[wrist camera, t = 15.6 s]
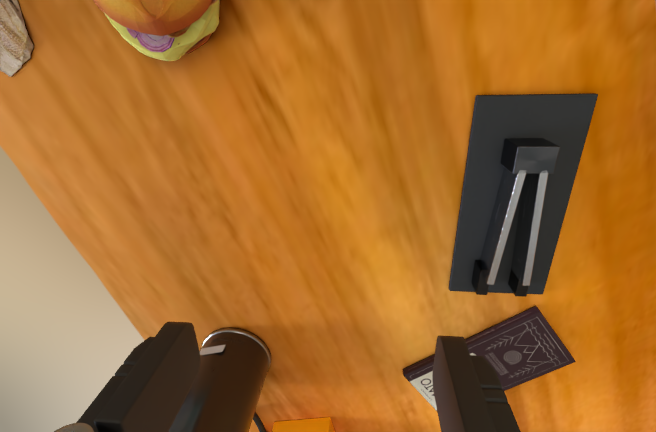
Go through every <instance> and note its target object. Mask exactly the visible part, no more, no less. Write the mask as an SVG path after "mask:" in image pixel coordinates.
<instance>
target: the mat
mask: <svg viewBox="0 0 656 432" xmlns="http://www.w3.org/2000/svg"><path fill="white" fill-rule="evenodd" d="M597 96H598V94H527V95H476V98H475V105H474V112H473V119H472V127H471V134H470V141H469V148H468V155H467V162H466V169H465V176H464V183H463V190H462V197H461V205H460V212H459V219H458V226H457V233H456V240H455V247H454V254H453V261H452V268H451V275H450V283H449V290H450V291H468V292H475V290H474V287H473V285H472V283H471V281H472V275H473V269H474V263H475V260H480V257H481V253H482V250H483V246H484V242H485V238H486V234H487V231H488V227H489V223H490V219H491V215H492V211H493V208H494V204H495V200H496V196H497V192H498V189H499V185H500V181H501V177H502V173H503V170H504V166H503V165H502V164H501V163H500V162H501V157H502V151H503V146H504V140H505V138H544V139H546V140H548V141H550V142H552V143H554V144H556V145H558V146H560V150H559V154H558V158H557V162H556V166H555V170H554V174H548V178H547V184H546V190H545V196H544V202H543V208H542V214H541V221H540V227H539V233H538V239H537V245H536V251H535V257H534V263H533V269H532V275H531V281H530V286H529V287H528V291H527V294H543V292H544V288H545V284H546V281H547V277H548V274H549V270H550V266H551V263H552V259H553V256H554V252H555V248H556V245H557V241H558V237H559V234H560V230H561V227H562V223H563V219H564V216H565V212H566V208H567V205H568V201H569V198H570V194H571V190H572V187H573V183H574V180H575V176H576V172H577V169H578V165H579V161H580V158H581V154H582V151H583V147H584V143H585V140H586V136H587V132H588V129H589V125H590V122H591V118H592V114H593V111H594V107H595V104H596V100H597ZM521 192H522V190H521ZM520 199H521V193H520V196H519V200H518V203H517V207H516V210H515V214H514V217H513V220H512V224H511V227H510V231H509V234H508V238H507V241H506V244H505V248H504V251H503V255H502V258H501V262H500V265H499V268H498V272H497V275H496V279H495V282H494V285H490V284H489V287H488V292H495V293H513V291H512V290H511V288H510V286H509V285H508V281H509V277H510V272H511V265H512V258H513V251H514V243H515V236H516V229H517V221H518V214H519V206H520Z"/></svg>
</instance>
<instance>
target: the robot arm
mask: <svg viewBox="0 0 656 432" xmlns="http://www.w3.org/2000/svg"><path fill="white" fill-rule="evenodd" d="M270 364H271V355H270V352H269V349H268V348H267V346H266V345H265V343H264V342H263V341H262V340H261V339H260V338H258V337H257V336H256V335H254V334H252V333H250V332H248V331H245V330H242V329H237V328H223V329H219V330H216V331H214V332H212V333H211V334H209V335H208V336H207V338H206V339H205V341H204V343H203V345H202V347H201V350H200V351H199V348H198V343H197V339H196V335H195V331H194V327H193V325H192V323H186V322H167V323H165V324H164V326H163V327H162V328H161V330H160V331H159V332H158V334H157V335H156V336H155V337H149V338H148V339H146V340H145V341H144V342H142V343H141V344H140V345H138V346H137V347H136V348H134V350H133V351H132V352H131V354H130V355H129V356H128V357H127V359H126V360H125V361H124V364H123V365H121V366H120V368H119V369H118V370H117V372H116V373H115V376H113V377H112V378H111V379H110V380H109V382H108V383H107V384H106V386H105V387H104V388H103V390H102V391H101V392H100V393H99V395H98V396H97V397H96V398H95V400H94V401H93V402H92V404H91V405H90V406H89V407H88V409H87V410H86V411H85V413H84V414H83V415H82V416H81V418H80V419H79V420H78V421H77V422H76V423H73V424H69V425H66V426H64V427H62V428H60V429H58V430H56V431H54V432H249V429H250V425H251V422H252V419H253V420H254V421H255V423H256V425H257V427H258V429H259V431H260V432H266V430H265V428H264V426H263V424H262V422H261V420H260V418H259V417H258V415H257V414H256V413H255V409H256V406H257V403H258V400H259V396H260V393H261V390H262V387H263V384H264V381H265V378H266V374H267V372H268V370H269V367H270ZM432 378H433V391H434V396H435V401H436V406H437V411H438V416H439V421H440V426H441V431H442V432H520V430H519V427H518V425H517V422H516V420H515V417H514V415H513V412H512V410H511V407H510V405H509V404H508V402H507V398H506V395H505V393H504V390H502V385H501V383H500V380H499V378H498V375H497V373H496V371H495V369H494V368H493V367H492V366H491V365H490V364H489V363H488V361H487V360H486V359H485V358H484V357H483V356H476V355H470V353H469V350H468V347H467V344H466V341H465V339H464V338H463V337H453V336H438V337H437V343H436V350H435V357H434V365H433V376H432Z"/></svg>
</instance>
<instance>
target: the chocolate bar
mask: <svg viewBox="0 0 656 432" xmlns="http://www.w3.org/2000/svg"><path fill="white" fill-rule="evenodd" d="M465 341H466V344H467V347H468V350H469V353H470V355H476V356H483V357H484V358H485V359H486V360H487V361H488V363H489V364H490V365H491V366H492V367H493V368H494V369H495V371H496V373H497V375H498V378H499V380H500V383H501V385H502V390H504V391H505V390H507V389H510V388H512V387H515V386H517V385H519V384H522V383H524V382H527V381H529V380H532V379H534V378H537V377H539V376H542V375H544V374H546V373H549V372H551V371H554V370H556V369H559V368H561V367H564V366H566V365H569V364H571V363H574V362H575V360H574V359H573V357H572V356H571V354H570V353H569V351H568V350H567V349H566V347H565V346H564V344H563V343H562V342H561V340H560V339H559V337H558V336H557V335H556V333H555V332H554V330H553V329H552V328H551V326H550V325H549V323H548V322H547V321H546V319H545V318H544V316H543V315H542V314H541V312H540V311H539V309H538V308H537V307H536V306H535V307H533V308H531V309H529V310H527V311H524V312H522V313H520V314H518V315H516V316H514V317H512V318H510V319H508V320H506V321H503V322H501V323H499V324H497V325H495V326H493V327H491V328H489V329H487V330H485V331H482V332H480V333H478V334H476V335H474V336H472V337H470V338H468V339H466V340H465ZM434 357H435V354H434V355H432V356H430V357H428V358H426V359H424V360H422V361H419V362H417V363H415V364H413V365H411V366H409V367H407V368H405V369H403V375H404V377H405V378H406V379H407V380H408V381H409V382H410V383H411V384H412V385H413V386H414V387H415V388H416V389H417V390H418V391H419V392H420V394H421V395H422V396H423V397H424V398H425V399H426V400H427V401H428V402H429V403H430V404H431V405H432V406H433V407H434V408H435V410H436V411H437V406H436V401H435V396H434V391H433V378H432V376H433V365H434ZM437 412H438V411H437Z"/></svg>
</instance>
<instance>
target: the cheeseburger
mask: <svg viewBox="0 0 656 432" xmlns="http://www.w3.org/2000/svg"><path fill="white" fill-rule="evenodd" d="M93 1H94V2H95V3H96V5H97V6H98V7H99V8H100V9H101V10H102V11H103V12H104V14H105V15H106V17H107V18H108V20H109V21H110V23H111V24H112V25H113V26H114V28H115V29H116V30H117V31H118V32H119V33H120V34H121V36H122V37H123V38H124V39H125V40H126V41H127V42H129V43H130V44H131V45H132V46H134V47H135V48H136V49H137V50H138V51H139V52H141V53H143V54H145V55H147V56H149V57H152V58H155V59H159V60H164V61H176V60H179V59H180V58H181V57H182V56H183V55H184V54H187V53H191V52H192V51H194V50H195V49H197V48H198V47H200V46H201V45H203V44H205V43H206V42H207V41H208V39H209V37H210V36H211V34H212V33H213V32H214V31H215V30H216V28H217V26H218V24H219V5H220V0H93Z"/></svg>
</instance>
